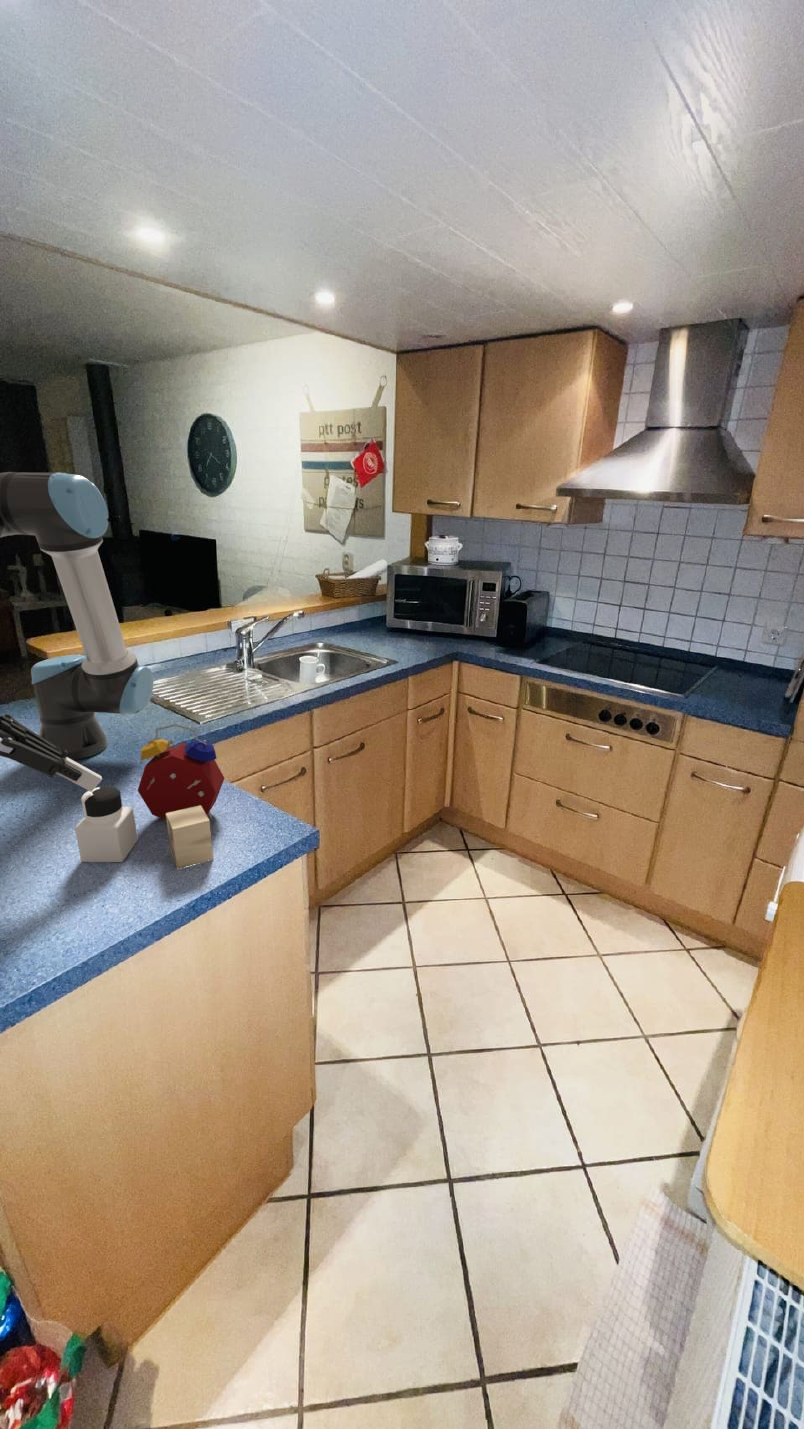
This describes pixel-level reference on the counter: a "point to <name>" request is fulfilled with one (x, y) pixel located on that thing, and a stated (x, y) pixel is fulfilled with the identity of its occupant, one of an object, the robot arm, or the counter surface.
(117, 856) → the medicine bottle
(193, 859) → the beech block
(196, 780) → the alarm clock
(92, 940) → the counter surface
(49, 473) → the robot arm
